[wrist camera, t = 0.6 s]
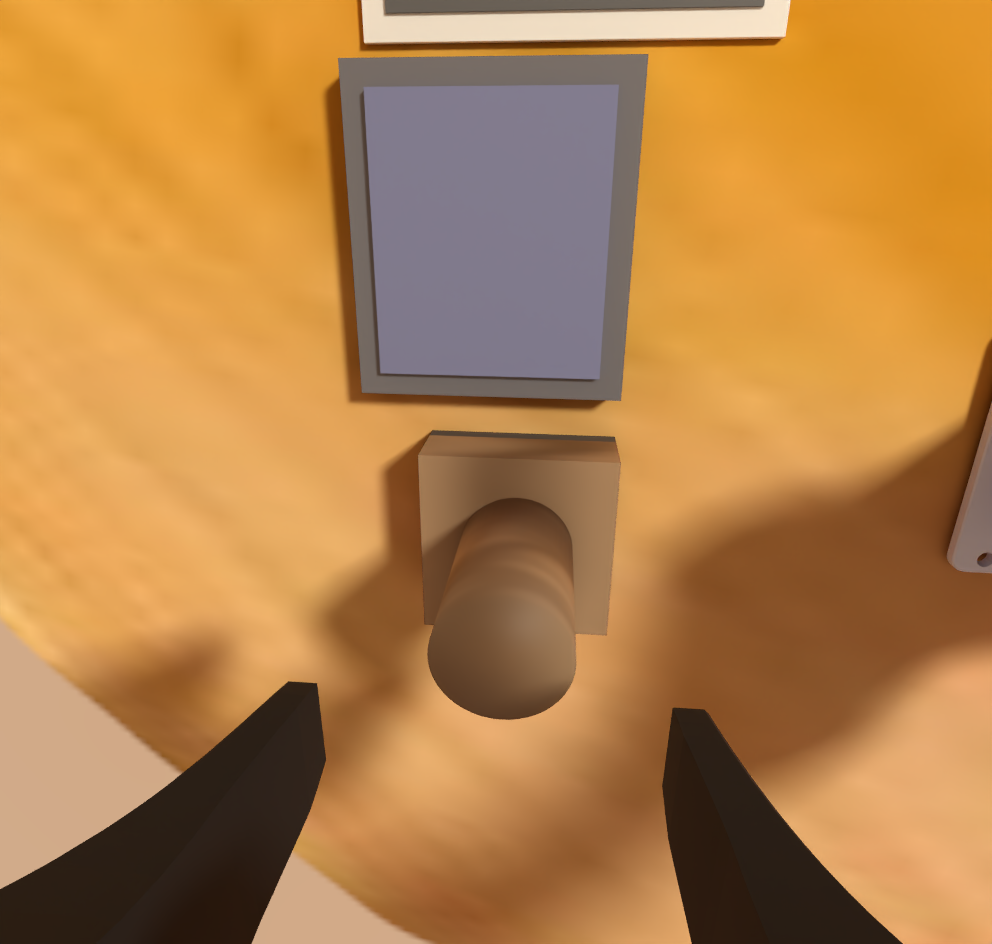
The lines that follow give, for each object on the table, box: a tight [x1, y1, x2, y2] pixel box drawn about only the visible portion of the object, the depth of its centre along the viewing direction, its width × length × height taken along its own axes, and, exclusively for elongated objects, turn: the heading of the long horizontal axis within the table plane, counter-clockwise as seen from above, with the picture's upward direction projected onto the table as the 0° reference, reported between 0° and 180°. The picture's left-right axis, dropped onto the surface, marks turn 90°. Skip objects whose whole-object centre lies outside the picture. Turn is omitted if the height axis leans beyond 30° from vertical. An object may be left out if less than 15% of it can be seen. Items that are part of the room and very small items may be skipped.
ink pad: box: [338, 54, 648, 401], centre depth 19 cm, size 8×9×1 cm
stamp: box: [418, 430, 621, 720], centre depth 19 cm, size 6×6×8 cm
